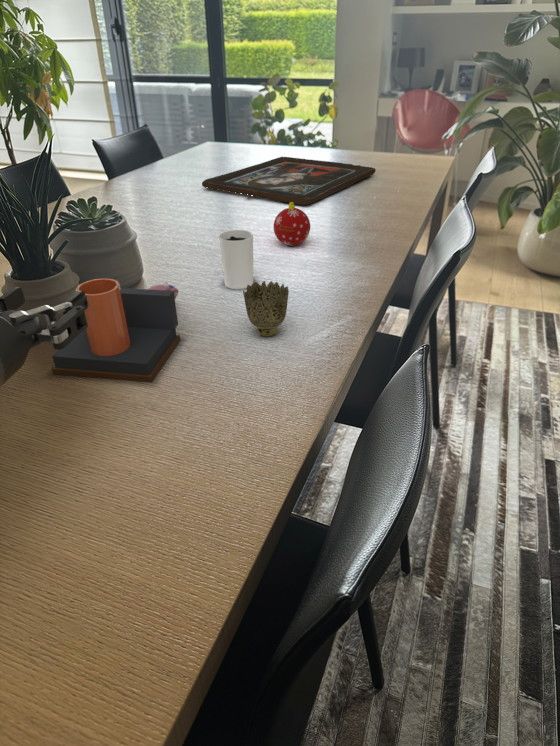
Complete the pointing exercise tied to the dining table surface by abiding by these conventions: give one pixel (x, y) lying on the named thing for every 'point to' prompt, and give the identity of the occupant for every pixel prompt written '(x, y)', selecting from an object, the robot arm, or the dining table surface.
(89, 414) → the dining table surface
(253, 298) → the cup
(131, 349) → the sofa
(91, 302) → the cup
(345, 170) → the religious icon
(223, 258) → the white cylindrical container
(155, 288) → the video game controller
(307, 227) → the christmas ornament
